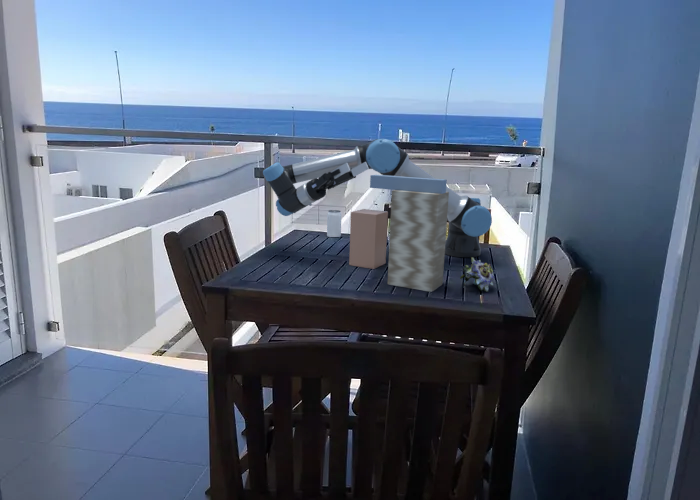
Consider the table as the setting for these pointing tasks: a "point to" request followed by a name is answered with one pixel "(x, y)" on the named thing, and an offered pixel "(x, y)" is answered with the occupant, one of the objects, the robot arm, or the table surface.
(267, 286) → the table surface
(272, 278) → the table surface
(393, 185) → the bar
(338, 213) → the can
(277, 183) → the robot arm
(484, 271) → the passion flower
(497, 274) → the table surface
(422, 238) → the stand
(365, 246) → the block
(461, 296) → the table surface
